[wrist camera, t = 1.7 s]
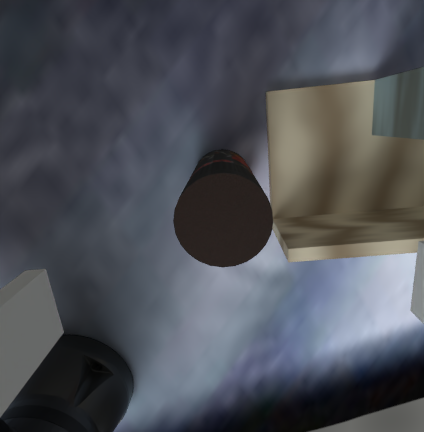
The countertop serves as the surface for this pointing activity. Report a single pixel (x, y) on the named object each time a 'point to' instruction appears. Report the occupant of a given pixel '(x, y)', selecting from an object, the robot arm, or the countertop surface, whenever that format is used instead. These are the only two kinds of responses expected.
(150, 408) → the countertop surface
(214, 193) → the deodorant
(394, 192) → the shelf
